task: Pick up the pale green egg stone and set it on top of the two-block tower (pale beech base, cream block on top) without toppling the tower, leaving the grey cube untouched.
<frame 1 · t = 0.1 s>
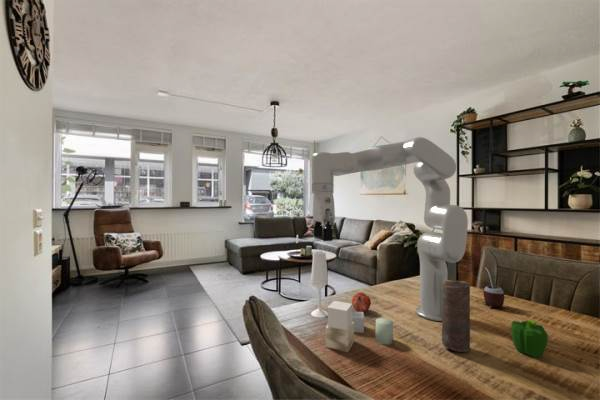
hand: (322, 238, 96), 31 cm above the table, tool pointing down, fingers open, 9 cm apart
tower base: (340, 344, 86), on the table, touching tower top
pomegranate: (361, 311, 111), on the table
tower top: (340, 324, 86), point 6 cm above the table, touching tower base
grey cube: (356, 328, 96), on the table
champagne flute: (319, 314, 108), on the table
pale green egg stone: (384, 340, 88), on the table
candle: (455, 349, 83), on the table
mate gourd: (492, 307, 115), on the table
bell pepper: (528, 352, 81), on the table
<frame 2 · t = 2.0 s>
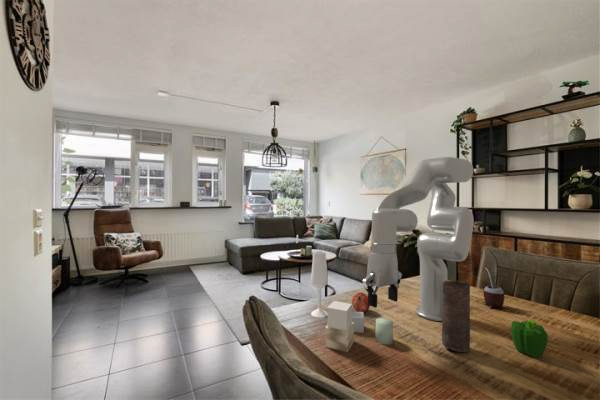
hand: (382, 303, 88), 12 cm above the table, tool pointing down, fingers open, 9 cm apart
nothing on the table moved.
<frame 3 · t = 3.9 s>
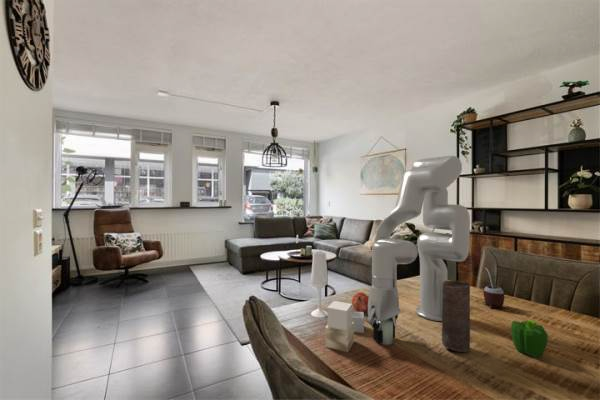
hand: (384, 338, 88), 1 cm above the table, tool pointing down, fingers closed on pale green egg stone, 5 cm apart
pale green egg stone: (384, 340, 88), on the table, touching gripper
everything else where it was.
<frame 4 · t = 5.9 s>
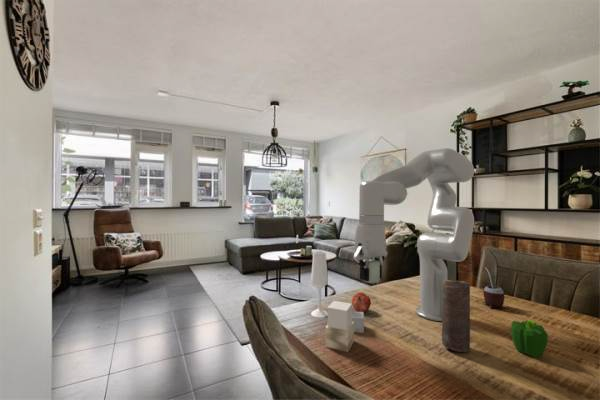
hand: (370, 278, 87), 20 cm above the table, tool pointing down, fingers closed on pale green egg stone, 5 cm apart
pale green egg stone: (370, 280, 87), point 19 cm above the table, touching gripper
everything else where it was.
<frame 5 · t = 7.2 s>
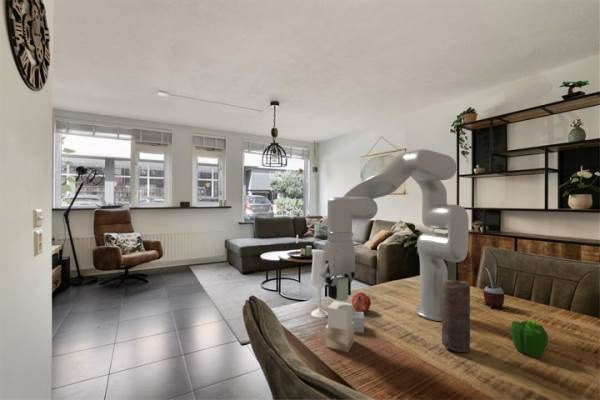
hand: (339, 295, 86), 15 cm above the table, tool pointing down, fingers closed on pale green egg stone, 5 cm apart
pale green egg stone: (339, 297, 86), point 14 cm above the table, touching gripper
everything else where it was.
when the fingers open (14 cm above the table, at t = 8.2 s): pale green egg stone drops 1 cm, resting on tower top.
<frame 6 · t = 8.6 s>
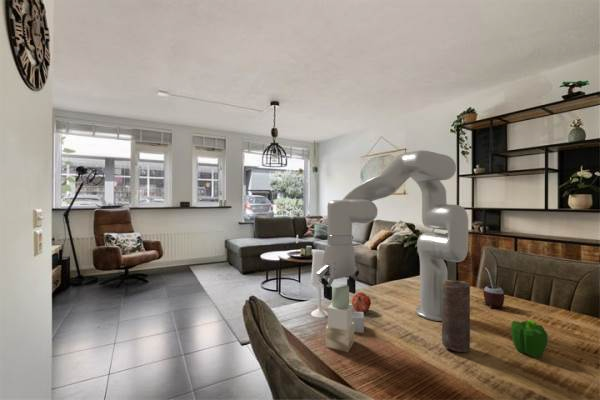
hand: (339, 295, 86), 15 cm above the table, tool pointing down, fingers open, 9 cm apart
tower top: (339, 324, 86), point 6 cm above the table, touching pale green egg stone, tower base
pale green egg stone: (340, 305, 86), point 12 cm above the table, touching tower top
everything else where it was.
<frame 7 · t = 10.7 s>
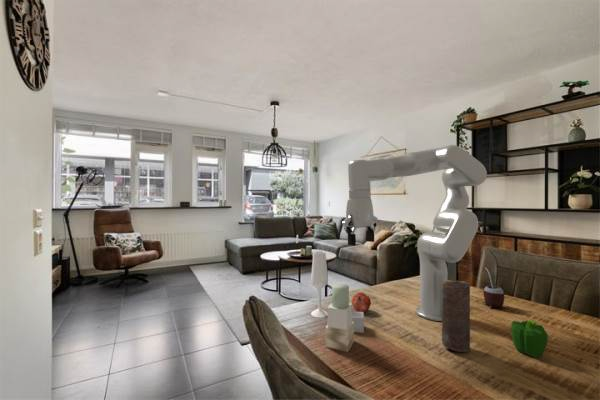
hand: (361, 243, 99), 29 cm above the table, tool pointing down, fingers open, 9 cm apart
nothing on the table moved.
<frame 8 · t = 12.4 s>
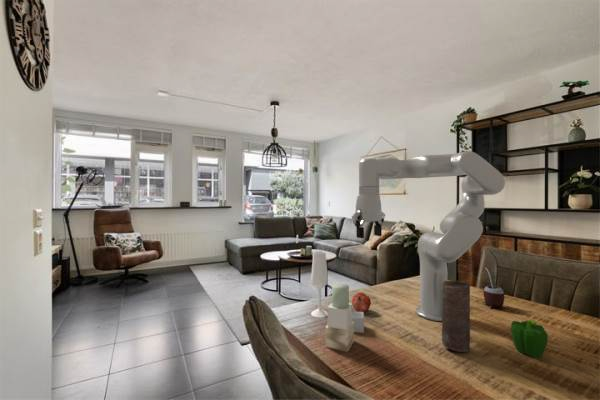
hand: (369, 236, 106), 30 cm above the table, tool pointing down, fingers open, 9 cm apart
nothing on the table moved.
at the end: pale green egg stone 0.2 cm off-centre on the tower top, point 6.0 cm above the tower top's base; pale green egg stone tilted 0°; tower top 0.1 cm off-centre on the tower base, point 6.0 cm above the tower base's base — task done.
